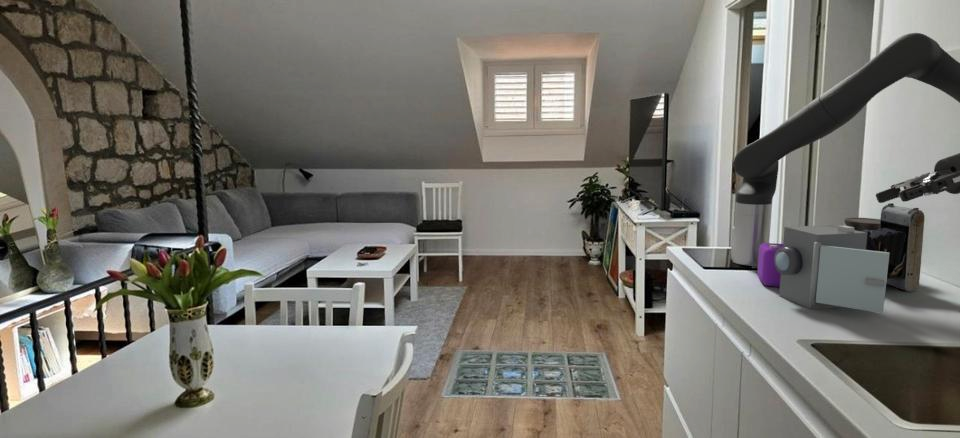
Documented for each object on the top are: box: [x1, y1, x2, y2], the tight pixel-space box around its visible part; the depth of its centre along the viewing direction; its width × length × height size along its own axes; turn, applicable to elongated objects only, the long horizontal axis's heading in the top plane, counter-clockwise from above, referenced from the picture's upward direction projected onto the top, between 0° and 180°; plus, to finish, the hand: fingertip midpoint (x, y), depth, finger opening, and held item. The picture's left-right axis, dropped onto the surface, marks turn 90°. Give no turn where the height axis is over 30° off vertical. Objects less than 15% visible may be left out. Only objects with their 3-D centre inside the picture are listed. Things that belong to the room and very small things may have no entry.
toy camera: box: [757, 242, 783, 288], centre depth 145 cm, size 11×14×10 cm
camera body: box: [774, 224, 867, 310], centre depth 129 cm, size 10×15×17 cm
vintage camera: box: [861, 203, 925, 293], centre depth 139 cm, size 10×15×20 cm, turn 95°
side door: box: [809, 242, 889, 314], centre depth 118 cm, size 2×13×13 cm, turn 50°
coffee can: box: [844, 217, 880, 231], centre depth 154 cm, size 10×10×14 cm
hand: (889, 197), depth 120 cm, fingers open, 8 cm apart
